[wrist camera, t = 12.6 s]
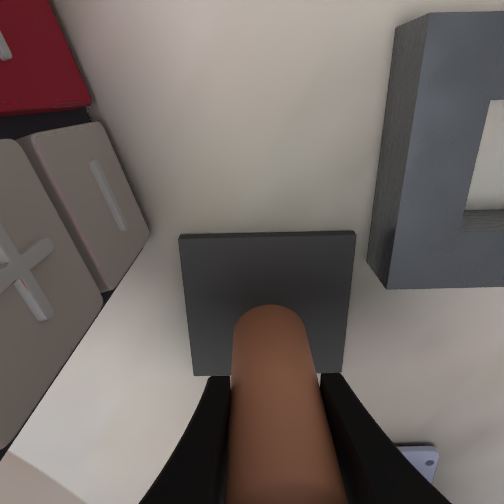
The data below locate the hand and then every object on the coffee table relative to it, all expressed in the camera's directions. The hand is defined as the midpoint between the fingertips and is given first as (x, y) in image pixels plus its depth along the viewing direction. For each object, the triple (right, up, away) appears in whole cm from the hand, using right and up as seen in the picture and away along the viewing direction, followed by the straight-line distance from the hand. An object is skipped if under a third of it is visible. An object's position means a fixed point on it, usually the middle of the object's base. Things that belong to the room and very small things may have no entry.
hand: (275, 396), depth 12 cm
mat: (0, +2, +5) cm, 6 cm away
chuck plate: (+9, +9, +2) cm, 13 cm away
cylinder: (0, +1, +3) cm, 3 cm away
